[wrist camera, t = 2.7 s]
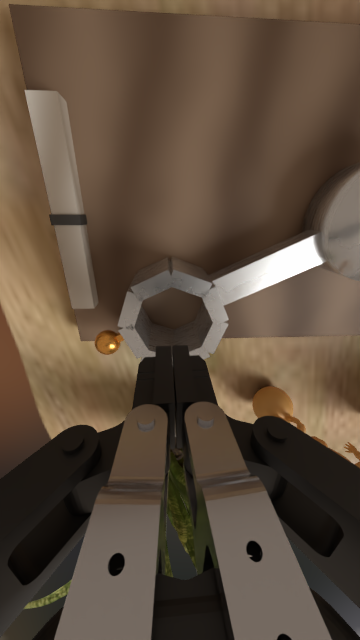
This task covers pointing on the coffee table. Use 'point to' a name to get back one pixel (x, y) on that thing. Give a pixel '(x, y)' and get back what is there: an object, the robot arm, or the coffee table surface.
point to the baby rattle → (243, 274)
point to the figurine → (285, 412)
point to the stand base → (190, 154)
